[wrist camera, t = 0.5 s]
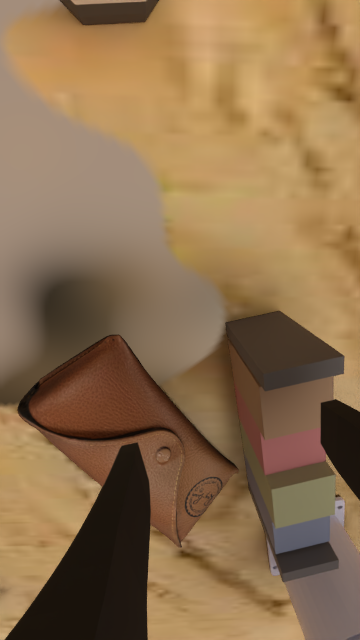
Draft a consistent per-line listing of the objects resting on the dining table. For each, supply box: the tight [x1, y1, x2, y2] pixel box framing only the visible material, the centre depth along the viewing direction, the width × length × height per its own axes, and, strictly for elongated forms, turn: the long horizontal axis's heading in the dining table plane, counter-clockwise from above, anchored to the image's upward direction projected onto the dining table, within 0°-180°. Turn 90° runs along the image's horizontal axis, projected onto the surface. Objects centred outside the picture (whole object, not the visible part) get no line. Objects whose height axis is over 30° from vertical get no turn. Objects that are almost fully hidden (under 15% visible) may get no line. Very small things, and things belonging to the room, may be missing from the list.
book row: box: [226, 311, 344, 582], centre depth 19 cm, size 17×4×7 cm, turn 11°
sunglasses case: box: [18, 335, 238, 548], centre depth 21 cm, size 18×7×7 cm
